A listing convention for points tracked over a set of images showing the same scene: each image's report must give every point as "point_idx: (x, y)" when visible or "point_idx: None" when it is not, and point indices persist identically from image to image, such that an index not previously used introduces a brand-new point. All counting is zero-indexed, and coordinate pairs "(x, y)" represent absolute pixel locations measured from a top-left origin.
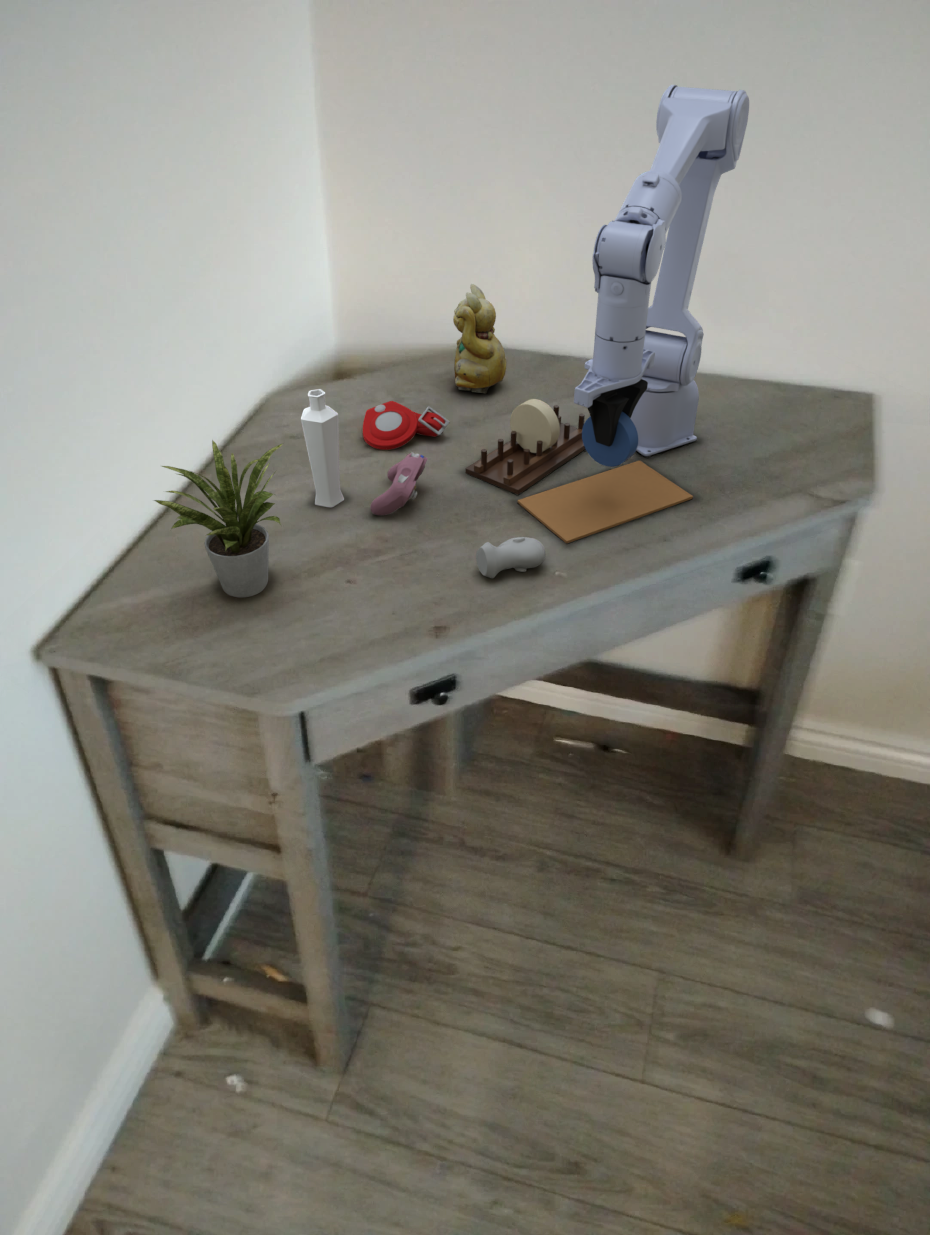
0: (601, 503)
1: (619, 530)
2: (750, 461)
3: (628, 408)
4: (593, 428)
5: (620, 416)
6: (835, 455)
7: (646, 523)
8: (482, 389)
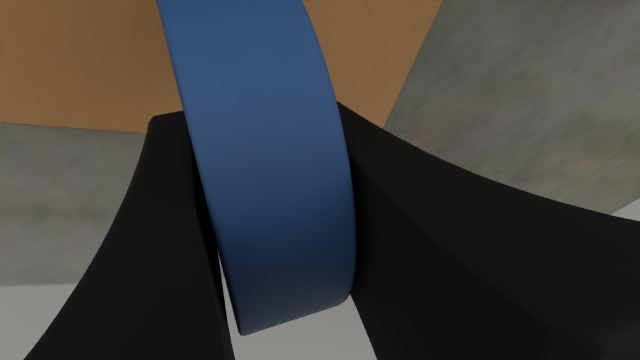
0: (149, 17)
1: (95, 143)
2: (572, 115)
3: (373, 333)
4: (134, 172)
5: (292, 316)
6: (623, 182)
7: None
8: None
